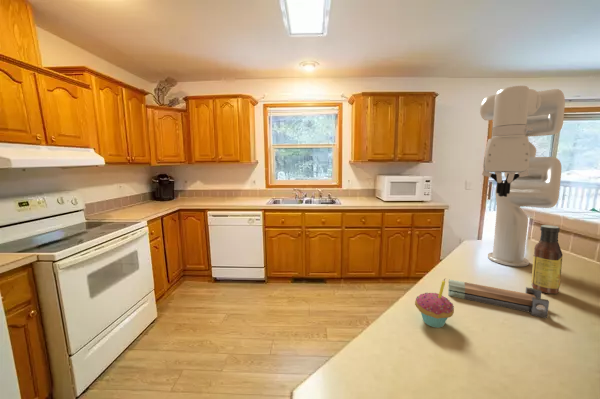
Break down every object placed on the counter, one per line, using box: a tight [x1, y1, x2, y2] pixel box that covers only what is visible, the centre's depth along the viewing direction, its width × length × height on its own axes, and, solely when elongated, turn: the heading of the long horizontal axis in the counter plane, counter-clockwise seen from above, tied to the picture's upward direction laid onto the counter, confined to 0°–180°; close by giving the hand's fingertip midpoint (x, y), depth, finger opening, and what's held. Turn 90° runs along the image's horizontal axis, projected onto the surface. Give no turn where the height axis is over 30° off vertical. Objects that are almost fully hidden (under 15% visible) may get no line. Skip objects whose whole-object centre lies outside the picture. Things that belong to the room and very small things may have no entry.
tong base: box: [447, 286, 550, 319], centre depth 72 cm, size 8×22×4 cm, turn 60°
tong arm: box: [448, 279, 536, 306], centre depth 72 cm, size 4×20×2 cm, turn 60°
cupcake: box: [414, 278, 455, 329], centre depth 63 cm, size 9×8×12 cm
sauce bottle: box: [530, 224, 564, 295], centre depth 76 cm, size 6×6×20 cm
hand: (502, 195), depth 76 cm, fingers closed
